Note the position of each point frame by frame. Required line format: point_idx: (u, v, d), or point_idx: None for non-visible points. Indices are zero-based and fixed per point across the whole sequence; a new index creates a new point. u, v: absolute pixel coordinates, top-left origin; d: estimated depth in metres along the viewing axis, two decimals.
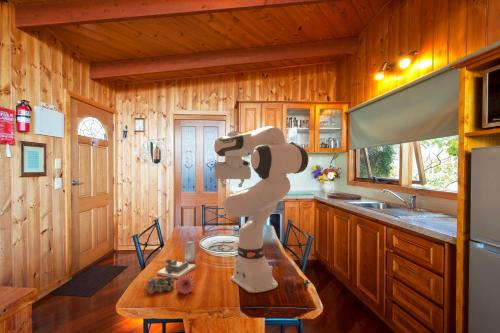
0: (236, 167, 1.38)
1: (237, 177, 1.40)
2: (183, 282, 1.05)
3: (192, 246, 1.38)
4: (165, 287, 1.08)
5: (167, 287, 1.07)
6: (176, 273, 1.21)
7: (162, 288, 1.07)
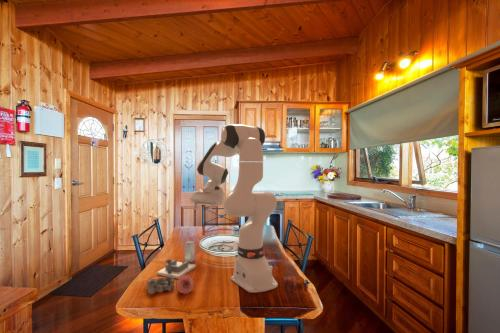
0: (208, 191, 1.55)
1: (207, 199, 1.52)
2: (183, 282, 1.05)
3: (192, 246, 1.38)
4: (165, 287, 1.07)
5: (168, 287, 1.07)
6: (176, 273, 1.21)
7: (163, 288, 1.06)
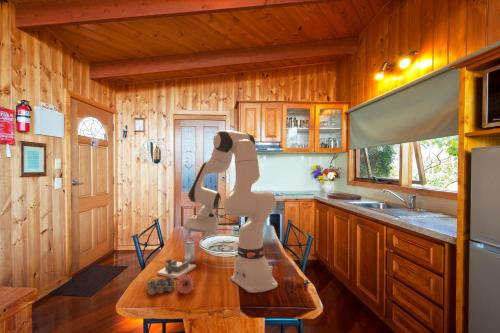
0: (202, 218, 1.49)
1: (201, 228, 1.46)
2: (183, 282, 1.05)
3: (192, 246, 1.38)
4: (166, 288, 1.07)
5: (168, 288, 1.07)
6: (176, 273, 1.21)
7: (163, 289, 1.06)
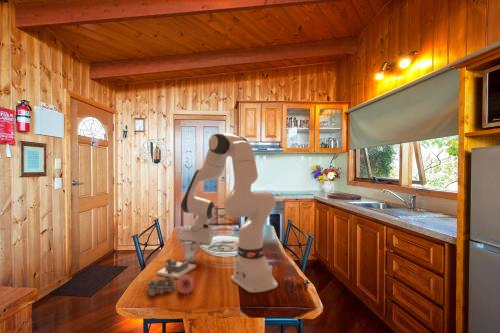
0: (196, 229, 1.43)
1: (195, 239, 1.40)
2: (183, 282, 1.05)
3: (192, 246, 1.38)
4: (166, 288, 1.06)
5: (168, 288, 1.06)
6: (176, 273, 1.21)
7: (163, 290, 1.05)
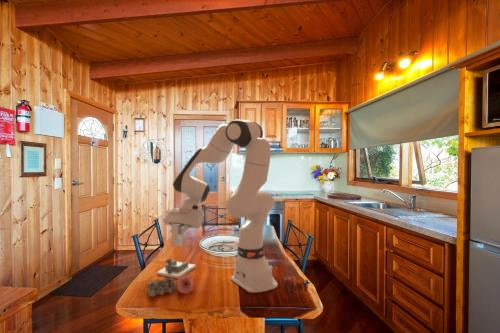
0: (185, 211, 1.31)
1: (183, 221, 1.28)
2: (183, 282, 1.05)
3: (180, 228, 1.26)
4: (166, 289, 1.06)
5: (169, 289, 1.06)
6: (176, 273, 1.21)
7: (164, 290, 1.05)
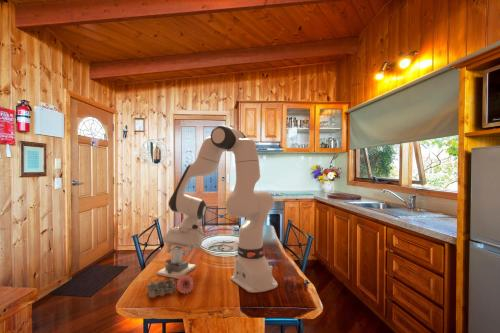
0: (184, 230, 1.31)
1: (183, 241, 1.28)
2: (183, 282, 1.05)
3: (179, 252, 1.26)
4: (167, 290, 1.05)
5: (169, 290, 1.05)
6: (176, 273, 1.21)
7: (164, 291, 1.04)
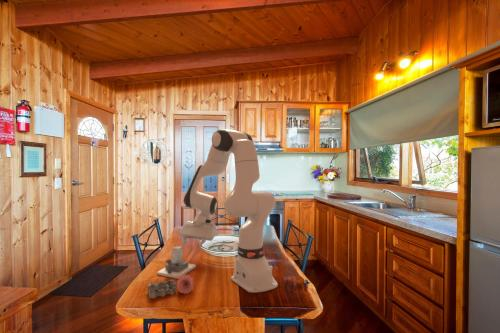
0: (198, 224, 1.43)
1: (197, 234, 1.40)
2: (183, 282, 1.05)
3: (179, 252, 1.26)
4: (167, 291, 1.04)
5: (169, 291, 1.04)
6: (176, 273, 1.21)
7: (164, 292, 1.03)
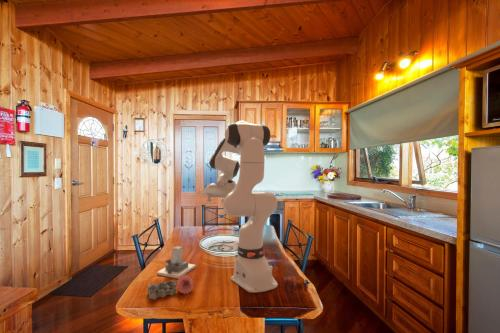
0: (221, 184, 1.57)
1: (221, 192, 1.54)
2: (183, 282, 1.05)
3: (179, 252, 1.26)
4: (168, 292, 1.04)
5: (170, 292, 1.04)
6: (176, 273, 1.21)
7: (165, 293, 1.03)
